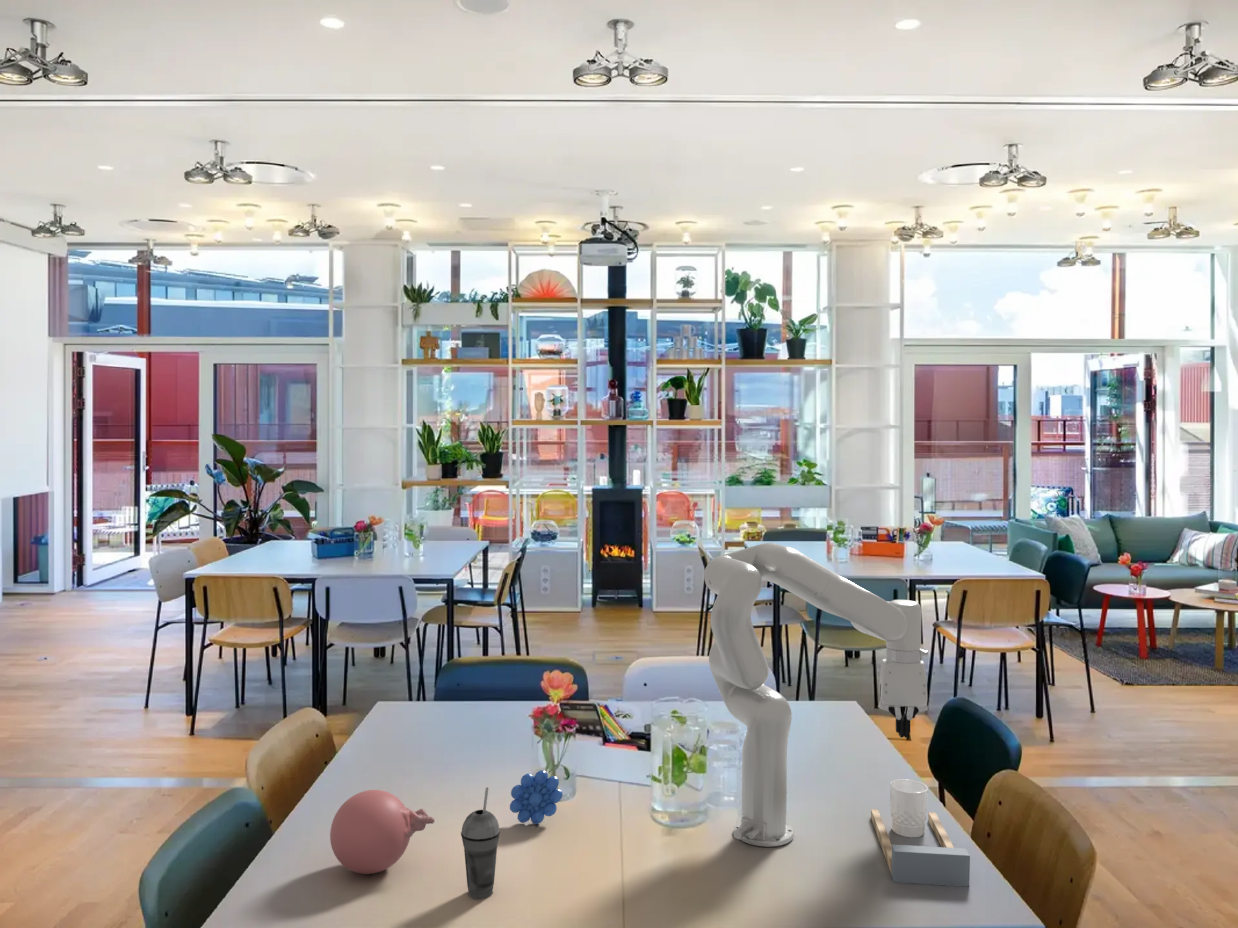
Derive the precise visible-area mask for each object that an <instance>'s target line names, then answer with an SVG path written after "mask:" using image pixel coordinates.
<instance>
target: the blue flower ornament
mask: <svg viewBox="0 0 1238 928" xmlns="http://www.w3.org/2000/svg"><path fill="white" fill-rule="evenodd" d="M559 785H560V779H559V778H558V777H557V776H555V775H551V776H549V774H548V772H547V771H546V770H544V769H540V770H538V771H537V772H535V774H534V775H533V774H532V773H526V774H524V775H523V776H522V777H521V778H520V784H516V785H514V786H513V787H511V791H510V796H511V797H512V799H513V800H512V801H511V802H510V804H509V810H510V811H511V812H512V813H514V814H517V821H518V822H520V823H523V824H525V823H527V822H528V821H531V823H532V824H534V825H539V824H540V823H543V822H544V819H545V816H546V817H552V816H553V815H555V813H556V812H557V807H558V806H557V803H558V802H560V801H561V800H562V798H563V792H562V790H561V789H560V788H558V787H559Z"/></svg>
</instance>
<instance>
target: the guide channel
mask: <svg viewBox="0 0 1238 928" xmlns="http://www.w3.org/2000/svg"><path fill="white" fill-rule="evenodd" d="M870 819H871V821H872V826H873V827H874V830H875V833H876V835H877V838H878V841H879V845H880V846H881V850H882V852H883V856H884V858H885V860H886V864H887V867H888V866H889V867H888V869H889V872H890V873H891V866H892V843H891V839H890V838H889V835H888V833H887V829H886V827H885V825H884V821H883V819H882V817H881V814H880V812H879V809H875V808H871V809H870ZM927 821H928V824H929V825H930V827H931V829H932V831H933V833H934V835H935V838H936V839H937V841H938V843H939V845H940V847H945V848H955V845H953V843H952V841H951V839H950V836H949V835H948V833H947V832H946V829H945V828H944V826H943V823H942V822H941V821H940V818H939V817H938V815H937V813H936V812H933V811H929V812H928V820H927Z"/></svg>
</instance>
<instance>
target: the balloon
mask: <svg viewBox="0 0 1238 928" xmlns="http://www.w3.org/2000/svg"><path fill="white" fill-rule="evenodd" d="M434 823H435V818H434V817H432V816H430V815H428V814H427V811H426V809H424V808H420V809H417V810H416V811H414V810H412V809H410V808H409V807H406V806H405V804H404V802H403V801H401V799H399V798H398V797H397V796H396V795H394V794H393V793H391V792H389V791H386V790H382V789H369V790H364V791H361V792H358V793H356V794H353V795H352V796H350V797H349V798H348V799H347V800H346V801H344V802H343V804H342V805H341V806H340V807H339V808H338V809H337V811H336V813H335V815H334V817H333V819H332V822H331V827H330V830H329V831H330V832H329V836H330V837H329V840H330V846H331V850H332V852H333V853H334V856H335V858H336V859H337V861H338V862H339V863H340V864H341V865H342V866H344V868H346V869H347V870H348V871H349V870H350V871H351V872H354V873H357V874H360V875H361V874H363V875H371V874H377V873H381V872H383V871H385V870H387V869H389V868H390V867H392V866H393V865H394V864H396V863H397V862H398V861H399V860H400V859H401V857H403V855H404V853H405V852H406V850H407V847H408V845H409V842H410V839H411V837H413V835H414V834H415V832H421V831H422V832H423V831H424V830H425V829H426V826H427V825H429V824H431V825H432V824H434Z"/></svg>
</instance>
